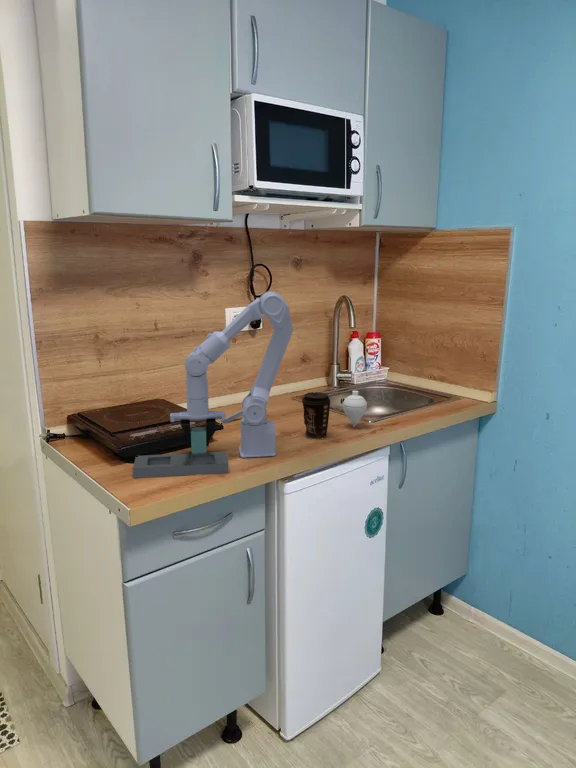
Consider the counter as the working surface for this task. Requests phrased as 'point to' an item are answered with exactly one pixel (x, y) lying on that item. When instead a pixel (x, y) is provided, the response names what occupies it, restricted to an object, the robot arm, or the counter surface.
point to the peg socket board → (180, 464)
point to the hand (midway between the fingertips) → (198, 445)
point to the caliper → (232, 417)
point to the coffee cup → (316, 414)
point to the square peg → (198, 440)
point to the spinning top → (354, 407)
